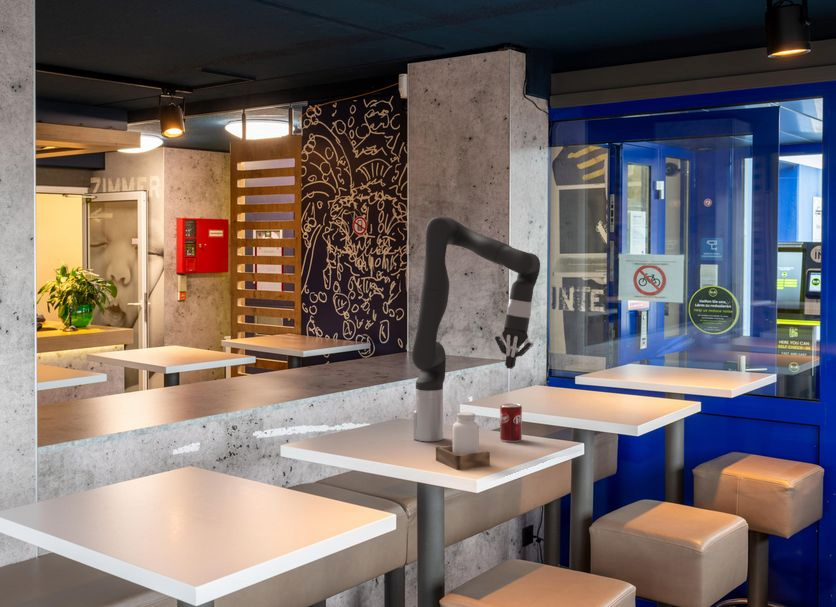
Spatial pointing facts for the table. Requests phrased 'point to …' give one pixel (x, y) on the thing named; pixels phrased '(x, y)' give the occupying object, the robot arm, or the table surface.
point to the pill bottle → (465, 434)
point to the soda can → (511, 422)
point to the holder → (461, 458)
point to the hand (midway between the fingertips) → (509, 368)
